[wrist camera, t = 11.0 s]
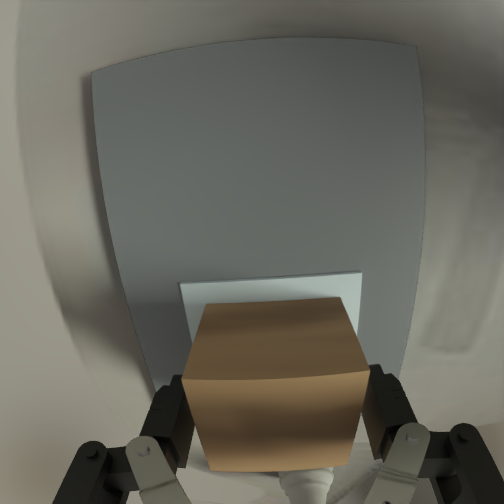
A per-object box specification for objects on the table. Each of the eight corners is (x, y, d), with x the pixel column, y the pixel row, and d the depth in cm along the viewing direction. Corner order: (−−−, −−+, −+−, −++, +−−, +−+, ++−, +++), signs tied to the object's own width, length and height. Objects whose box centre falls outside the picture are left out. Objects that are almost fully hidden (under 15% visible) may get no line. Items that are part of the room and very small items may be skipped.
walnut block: (205, 303, 14) (181, 379, 9) (340, 296, 14) (370, 370, 9) (222, 396, 16) (210, 470, 11) (331, 391, 16) (346, 464, 11)
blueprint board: (103, 75, 12) (89, 71, 11) (405, 52, 11) (418, 45, 10) (172, 409, 19) (167, 425, 17) (384, 398, 18) (389, 413, 16)
